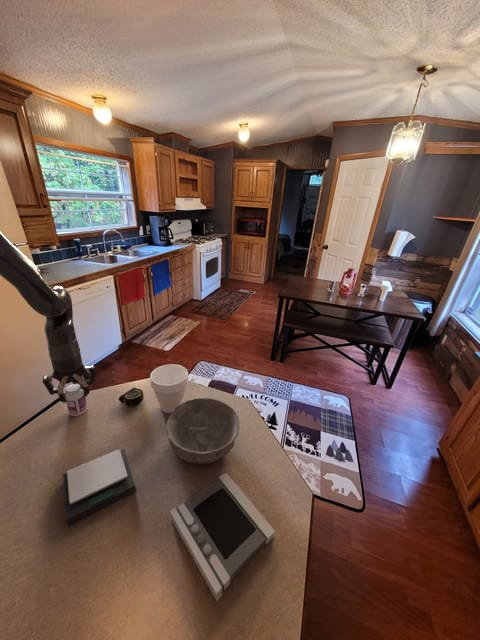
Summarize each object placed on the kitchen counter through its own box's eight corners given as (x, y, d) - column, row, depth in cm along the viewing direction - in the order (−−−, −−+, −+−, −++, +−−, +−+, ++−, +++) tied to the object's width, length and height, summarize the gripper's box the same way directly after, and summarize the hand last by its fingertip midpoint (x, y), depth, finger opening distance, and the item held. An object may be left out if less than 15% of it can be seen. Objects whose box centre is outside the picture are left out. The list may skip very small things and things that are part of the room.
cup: (195, 401, 93) (195, 370, 87) (174, 424, 82) (172, 390, 77) (168, 390, 97) (166, 360, 92) (144, 411, 87) (141, 378, 81)
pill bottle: (85, 402, 88) (80, 380, 84) (90, 411, 85) (85, 388, 81) (66, 410, 84) (61, 386, 81) (71, 419, 81) (65, 395, 77)
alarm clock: (169, 511, 56) (227, 464, 65) (171, 522, 58) (227, 476, 68) (216, 593, 44) (277, 522, 54) (217, 604, 46) (275, 534, 56)
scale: (68, 527, 54) (64, 516, 53) (64, 480, 63) (61, 471, 62) (135, 491, 62) (134, 482, 61) (124, 455, 71) (123, 445, 70)
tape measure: (135, 393, 94) (134, 384, 93) (148, 400, 92) (147, 391, 90) (119, 403, 89) (117, 395, 87) (132, 411, 86) (131, 402, 85)
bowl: (251, 457, 73) (254, 431, 69) (185, 496, 62) (184, 468, 58) (215, 412, 89) (216, 389, 85) (157, 437, 77) (155, 411, 73)
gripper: (91, 342, 82) (98, 384, 89) (35, 353, 74) (48, 398, 81) (94, 353, 77) (102, 397, 83) (34, 365, 69) (48, 413, 76)
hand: (75, 397), depth 82 cm, fingers closed on pill bottle, 5 cm apart
